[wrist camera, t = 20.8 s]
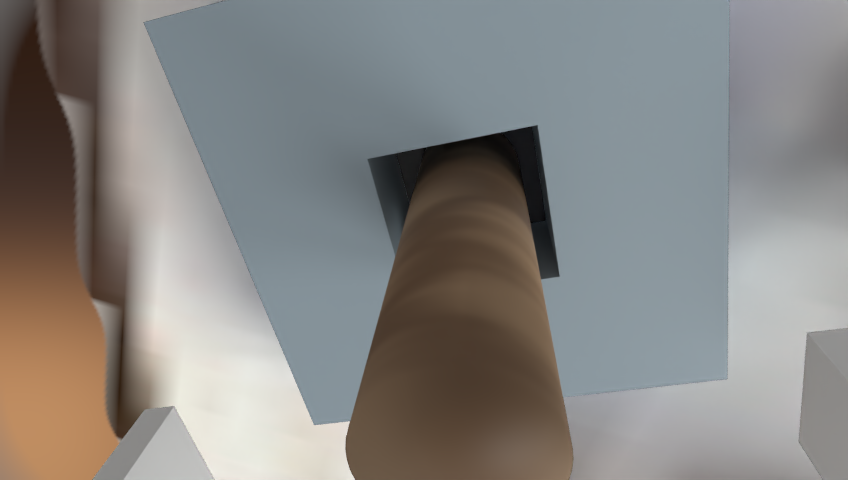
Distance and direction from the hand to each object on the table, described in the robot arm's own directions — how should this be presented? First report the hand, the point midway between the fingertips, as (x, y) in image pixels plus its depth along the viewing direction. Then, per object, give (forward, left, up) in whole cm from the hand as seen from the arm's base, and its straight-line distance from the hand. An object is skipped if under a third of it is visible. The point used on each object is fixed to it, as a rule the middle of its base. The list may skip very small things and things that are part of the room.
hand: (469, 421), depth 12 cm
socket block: (0, 0, -15) cm, 15 cm away
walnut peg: (0, 0, -15) cm, 15 cm away
